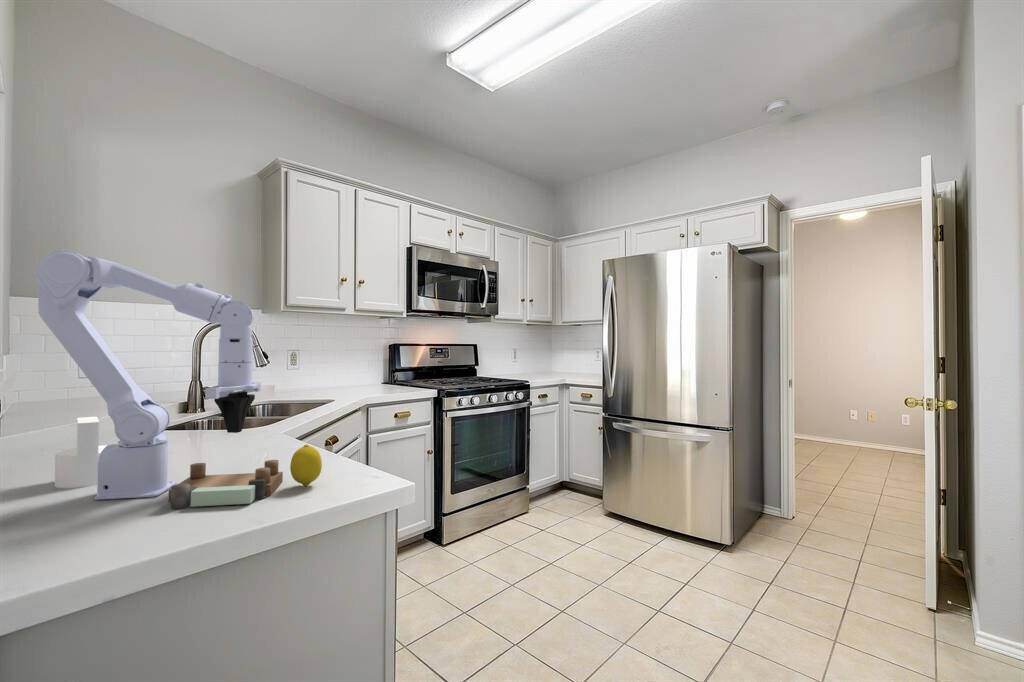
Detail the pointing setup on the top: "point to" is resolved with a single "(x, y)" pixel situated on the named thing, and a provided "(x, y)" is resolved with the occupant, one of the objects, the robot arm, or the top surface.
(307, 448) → the lemon
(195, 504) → the pale green bar
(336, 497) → the top surface
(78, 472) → the base with upright slab
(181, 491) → the stool seat
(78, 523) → the top surface
